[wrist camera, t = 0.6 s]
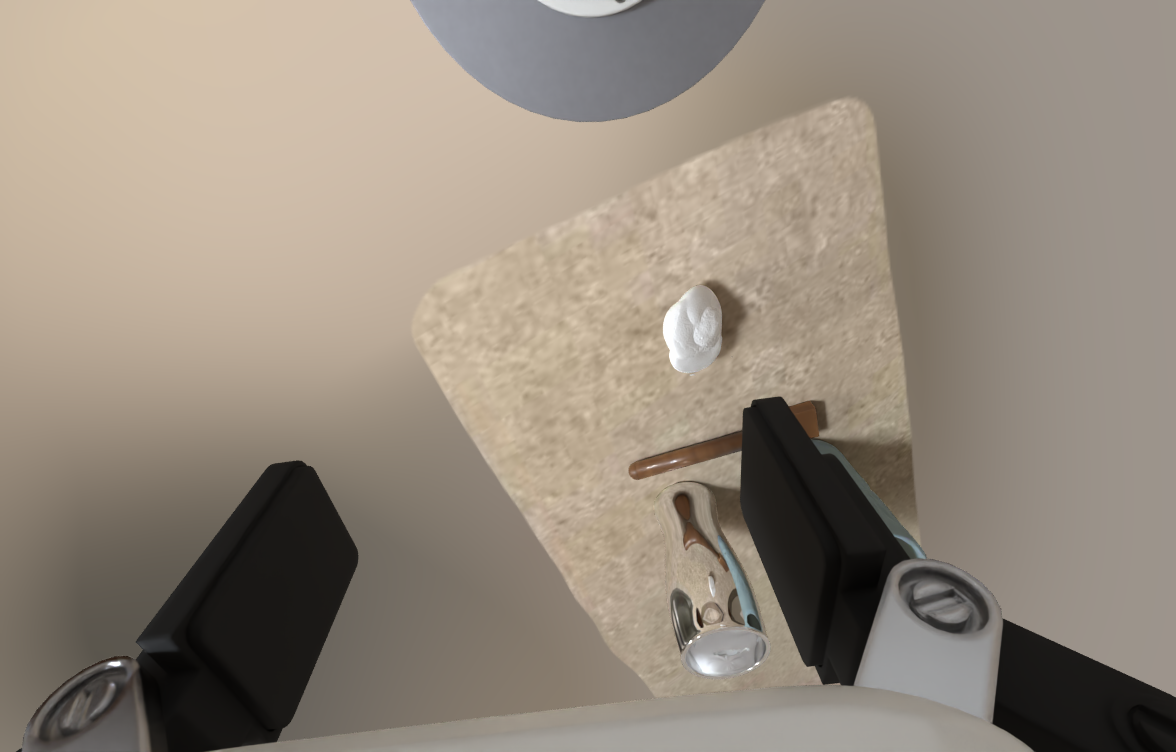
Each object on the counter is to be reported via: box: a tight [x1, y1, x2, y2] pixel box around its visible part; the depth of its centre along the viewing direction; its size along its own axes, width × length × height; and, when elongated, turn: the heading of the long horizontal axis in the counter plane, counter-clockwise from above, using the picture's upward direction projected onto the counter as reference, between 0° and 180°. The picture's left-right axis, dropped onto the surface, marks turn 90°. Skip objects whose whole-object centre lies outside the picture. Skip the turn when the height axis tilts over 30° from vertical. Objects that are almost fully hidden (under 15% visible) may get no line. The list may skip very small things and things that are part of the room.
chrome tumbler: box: [653, 482, 771, 679], centre depth 43 cm, size 7×7×15 cm
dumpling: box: [663, 285, 732, 376], centre depth 38 cm, size 7×5×4 cm
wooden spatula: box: [629, 401, 819, 480], centre depth 45 cm, size 17×3×2 cm, turn 109°
